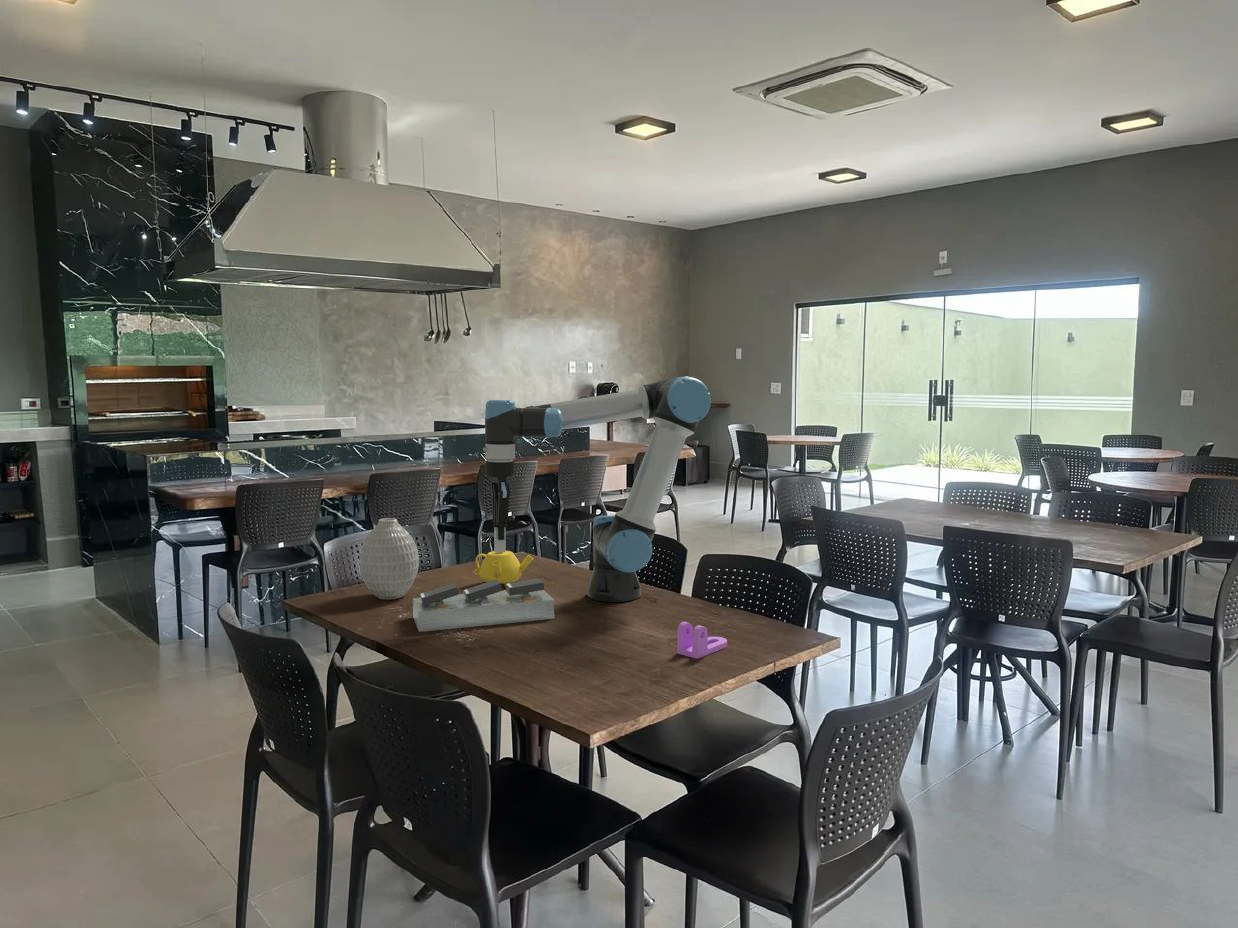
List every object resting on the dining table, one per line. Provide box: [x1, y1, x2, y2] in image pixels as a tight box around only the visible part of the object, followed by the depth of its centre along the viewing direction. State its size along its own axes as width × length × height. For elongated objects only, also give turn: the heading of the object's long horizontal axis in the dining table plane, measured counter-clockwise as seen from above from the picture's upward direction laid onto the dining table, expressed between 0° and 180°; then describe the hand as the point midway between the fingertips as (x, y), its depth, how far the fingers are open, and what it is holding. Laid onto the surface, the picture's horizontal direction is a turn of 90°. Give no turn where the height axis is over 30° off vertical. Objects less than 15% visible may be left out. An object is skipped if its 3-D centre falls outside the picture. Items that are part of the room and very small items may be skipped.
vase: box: [359, 517, 420, 601], centre depth 242 cm, size 16×16×22 cm
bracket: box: [676, 621, 728, 660], centre depth 193 cm, size 13×6×7 cm, turn 137°
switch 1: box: [419, 582, 460, 606], centre depth 216 cm, size 9×5×2 cm, turn 109°
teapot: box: [473, 550, 534, 588], centre depth 256 cm, size 14×14×11 cm
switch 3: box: [505, 577, 545, 596], centre depth 223 cm, size 9×5×2 cm, turn 109°
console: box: [412, 589, 555, 633], centre depth 220 cm, size 34×14×6 cm, turn 109°
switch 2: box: [463, 579, 503, 602], centre depth 220 cm, size 9×5×2 cm, turn 109°
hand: (500, 551), depth 220 cm, fingers closed
